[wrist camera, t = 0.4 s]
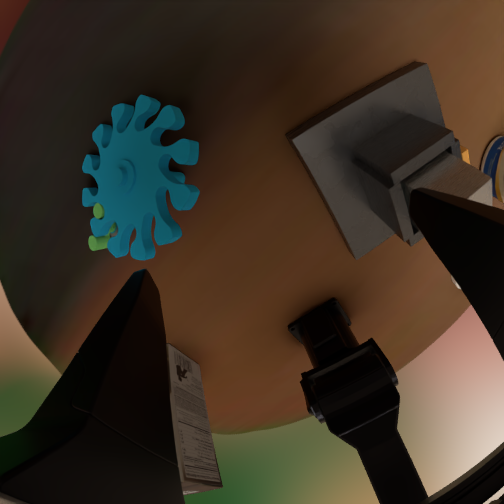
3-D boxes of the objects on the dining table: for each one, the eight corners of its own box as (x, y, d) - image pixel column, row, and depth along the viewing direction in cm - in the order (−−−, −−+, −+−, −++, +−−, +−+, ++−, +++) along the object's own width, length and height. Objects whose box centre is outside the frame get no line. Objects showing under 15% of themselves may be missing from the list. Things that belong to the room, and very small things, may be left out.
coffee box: (149, 387, 36) (159, 499, 23) (114, 368, 32) (115, 492, 19) (202, 364, 35) (225, 488, 22) (168, 341, 31) (183, 484, 18)
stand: (446, 181, 27) (488, 211, 21) (349, 251, 29) (382, 295, 24) (415, 61, 18) (472, 73, 13) (285, 134, 21) (323, 163, 16)
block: (421, 175, 23) (492, 227, 16) (383, 202, 24) (450, 263, 17) (409, 131, 20) (492, 176, 13) (367, 158, 21) (446, 214, 14)
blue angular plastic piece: (128, 64, 14) (222, 172, 12) (186, 88, 19) (272, 180, 18) (56, 192, 19) (113, 304, 17) (112, 190, 24) (171, 282, 22)
